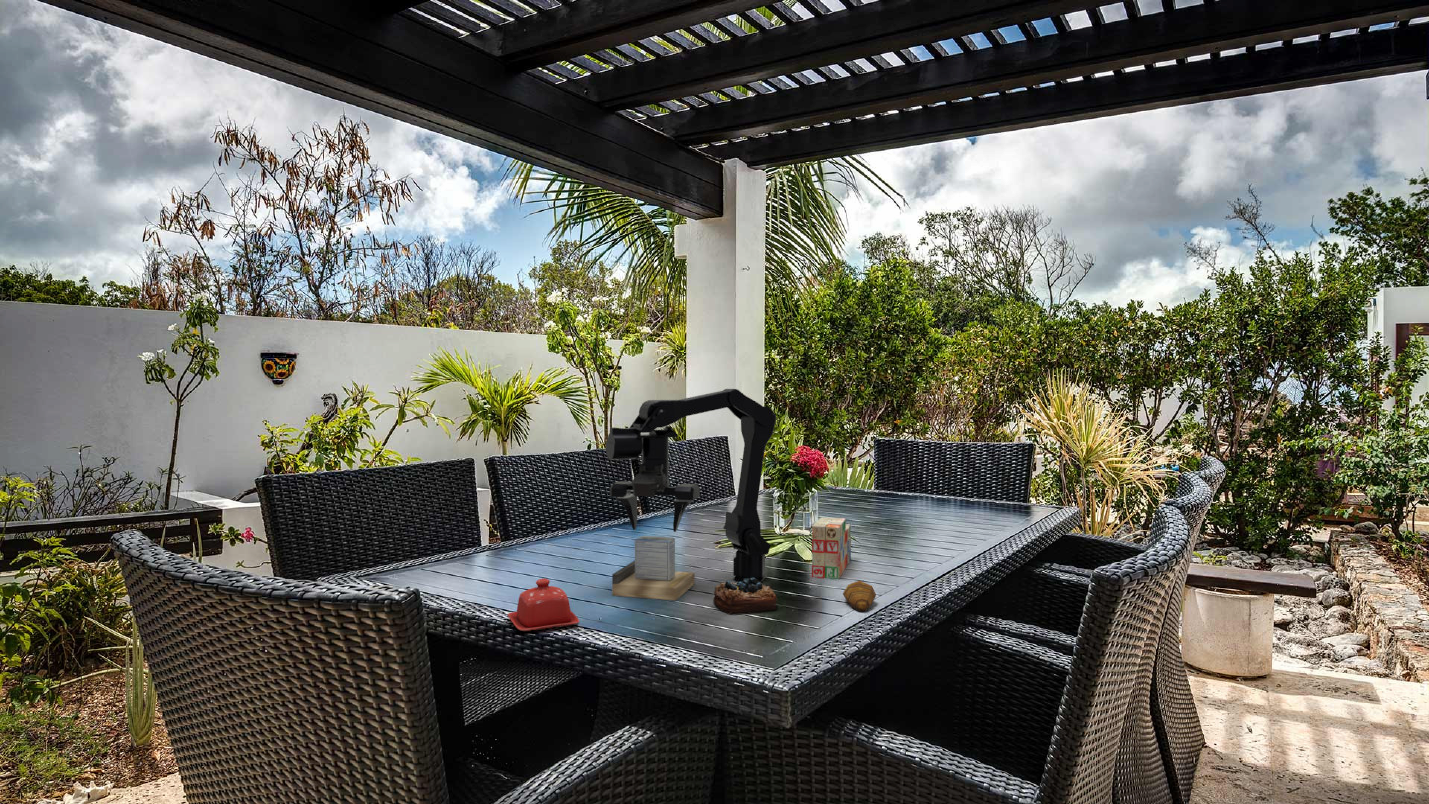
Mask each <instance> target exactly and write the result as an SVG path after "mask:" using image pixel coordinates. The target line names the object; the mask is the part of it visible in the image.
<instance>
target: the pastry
mask: <svg viewBox="0 0 1429 804" xmlns="http://www.w3.org/2000/svg"><path fill="white" fill-rule="evenodd" d="M770 587H771V586H769V585H768V586H766V585H765V584H764V585H763V583H762V582H759V581H757V579H755V578H750V579H747V578H745V579H744V580H743V581H737V582H736V583H734V582H731V581H730V580H728V581H725V582H720V583H719V584H718V585H715V588H714V592H713V595H714V597H713V600H712V601H713V604H714V605H715V606H716V607H717V608H718V609H719V610H721V611H722V612H724V613H726V614H729V615H744V614H745V615H746V614H755V613H763V612H764V613H765V612H770V611H776V609H777V603H778V602H777V601H778V599H777V595H776V594H775V591H773V589H772V588H770Z"/></svg>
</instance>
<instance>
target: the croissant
mask: <svg viewBox="0 0 1429 804" xmlns="http://www.w3.org/2000/svg"><path fill="white" fill-rule="evenodd" d="M842 595H843V597H844V598H845V601H846V602H847V603H848V605H850V606H851V608H852V609H854V611H858V612H863V613H864V612H867V611H868V610H869V609H870V608H871V607H872V605H873V602H874V600H875V599H876V596H877V593H876V591H875V589H874V587H873V586H872V585H870V584H868V583H866V582H864V581H861V580H858V581H854V582H851V583H849V584H847V586H846V588H845V589H844V591H843V592H842Z"/></svg>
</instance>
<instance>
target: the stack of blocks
mask: <svg viewBox="0 0 1429 804" xmlns="http://www.w3.org/2000/svg"><path fill="white" fill-rule="evenodd" d="M846 519H847V518H843V517H827V516H826V517H824V516H823V517H820V518H819V519H818V520H817V521H816V522H815V523H814V524H812V527H811V530H812V532H811V533H812V534H811V536H812V537H811V578H812V577H817V578H816V579H824V578H830V579H829V580H837V579H838V580H839V579H840V577H841V576H842V575H843V573H844V572H845V569H846V568H847V566H849V563H850V562H851V560H852V558H851V557H852V556H851V555H852V553H851V552H852V536H851V531H852V530H851V529H852V528H851V524H850V523H848V524H847V521H846ZM846 565H847V566H846ZM843 571H844V572H843ZM841 574H842V575H841Z"/></svg>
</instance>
